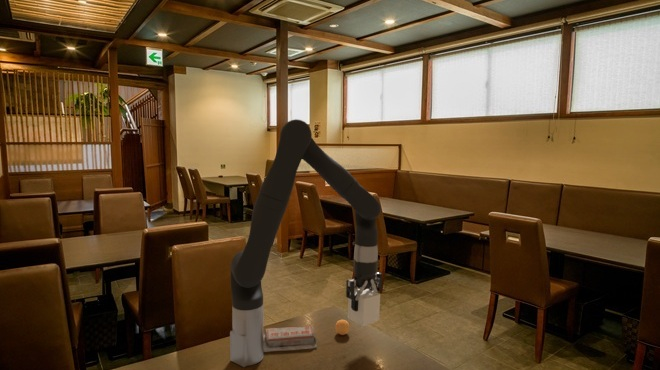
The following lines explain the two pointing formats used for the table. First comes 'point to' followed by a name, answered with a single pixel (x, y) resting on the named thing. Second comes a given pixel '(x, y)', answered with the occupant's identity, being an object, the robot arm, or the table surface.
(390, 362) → the table surface
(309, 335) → the packaged product
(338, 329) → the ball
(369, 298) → the white foam cube
